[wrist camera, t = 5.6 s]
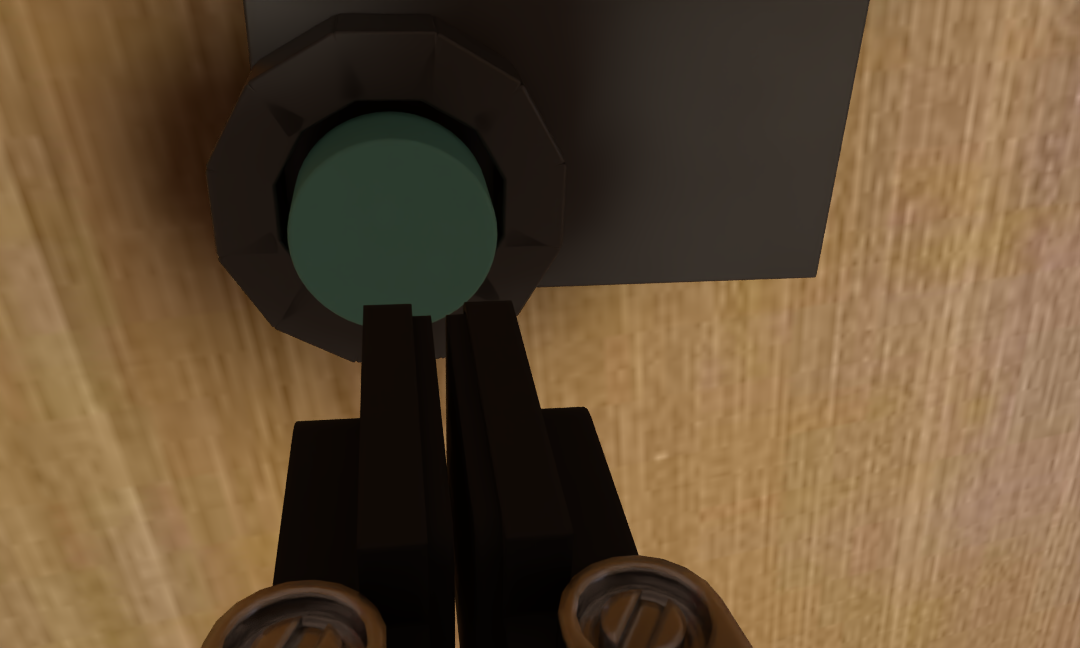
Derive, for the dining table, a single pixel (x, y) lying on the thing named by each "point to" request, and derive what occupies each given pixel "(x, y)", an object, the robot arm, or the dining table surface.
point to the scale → (554, 135)
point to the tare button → (391, 217)
